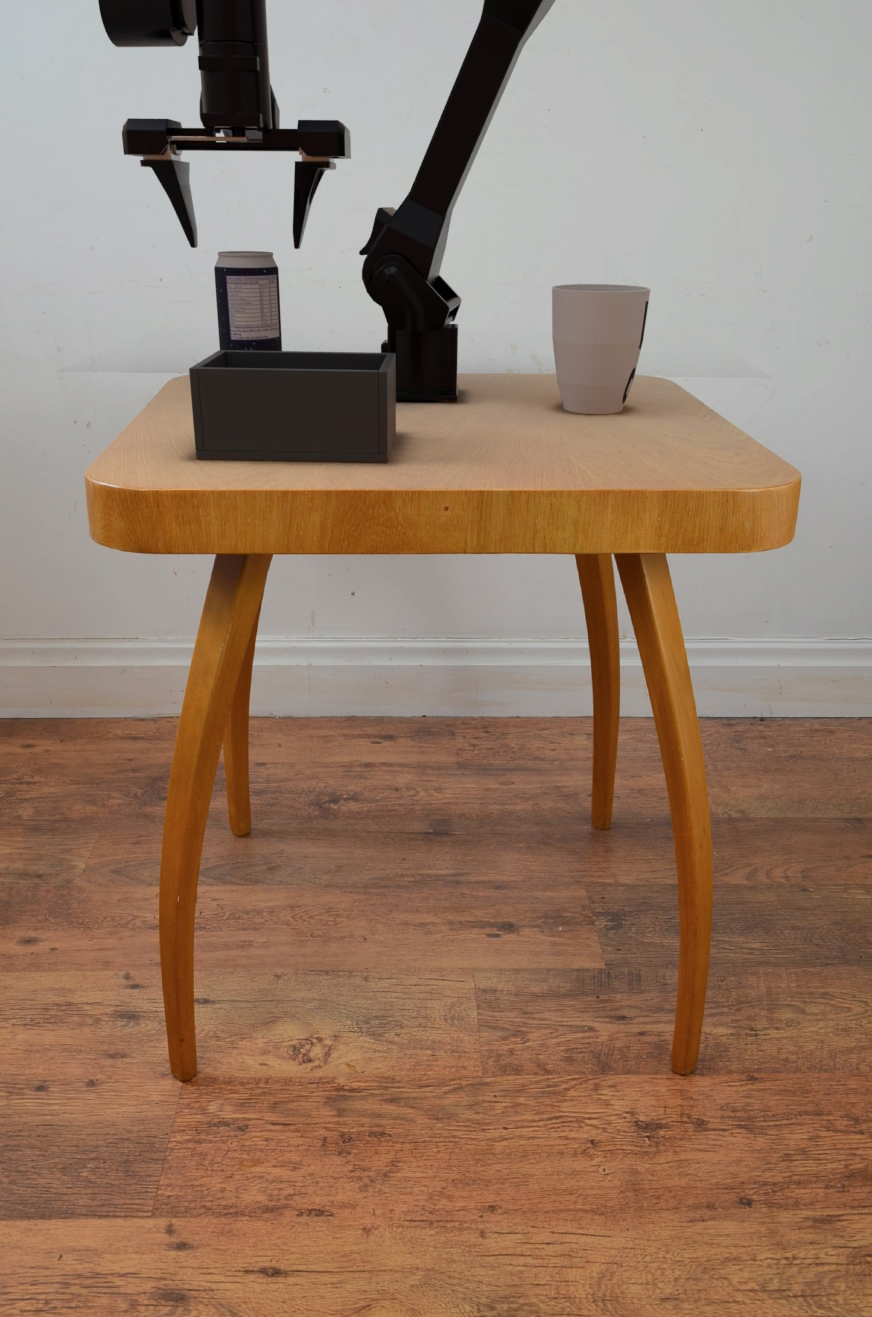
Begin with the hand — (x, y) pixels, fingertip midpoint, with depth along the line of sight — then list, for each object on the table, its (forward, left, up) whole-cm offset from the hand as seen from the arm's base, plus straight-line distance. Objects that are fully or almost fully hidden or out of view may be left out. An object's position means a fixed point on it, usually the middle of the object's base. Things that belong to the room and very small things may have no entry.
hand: (245, 248), depth 93 cm
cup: (-31, +7, -13) cm, 34 cm away
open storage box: (-8, +24, -12) cm, 28 cm away
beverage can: (0, 0, -13) cm, 13 cm away
